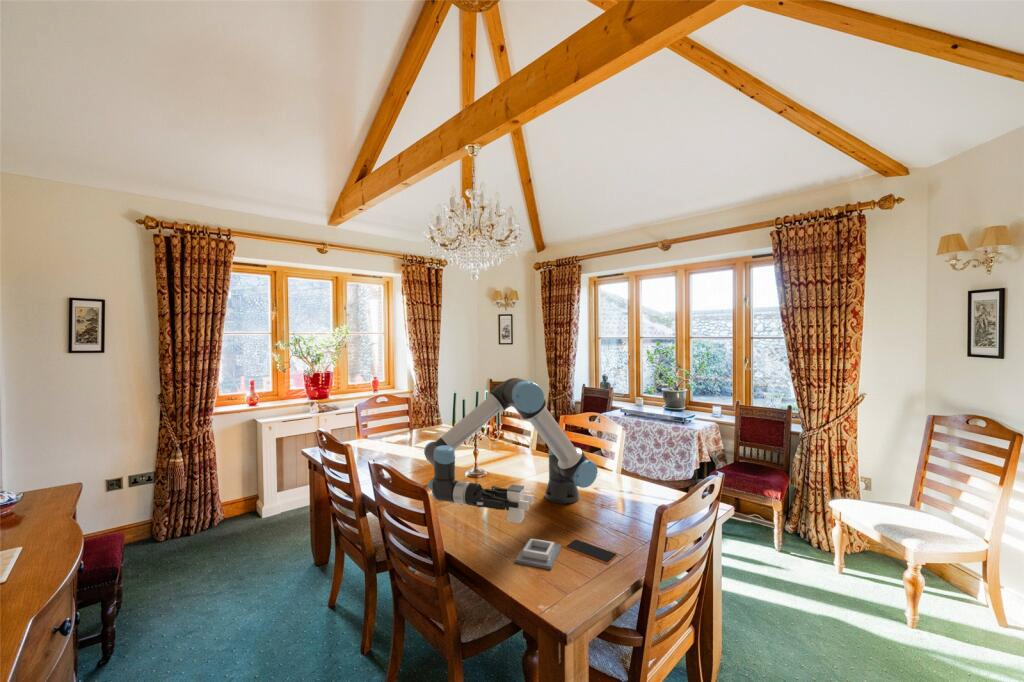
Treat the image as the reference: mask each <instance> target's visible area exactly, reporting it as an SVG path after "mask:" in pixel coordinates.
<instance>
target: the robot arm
mask: <svg viewBox="0 0 1024 682" xmlns="http://www.w3.org/2000/svg"><path fill="white" fill-rule="evenodd" d="M546 406H547V400H546V399H545V394H544V391H543V389H542V388H541V386H540V385H538V384H537V383H536V382H534V381H532V380H527V379H521V378H516V377H512V378H511V377H510V378H508V379H505V380H504V381H503V382H501V383H500V384H498V385H497V386H496V387H495V388H494V389H492V390H491V391H490V392H489V393H488V394H487V397H486V399H484V400H483V401H482V402H481V403H480V404H477V406H476V407H475V408H473V409H472V410H471V411H470V412H469V413H468V414H466V415H465V416H464V417H463V418H462V419H461V420H459V421H458V422H457V423H456V424H455V425H453V427H451V428H450V429H448V431H447V432H445V433H444V434H443V435H442V436H441V437H439V438H438V439H437V440H436V441H435V440H434V441H430V442H428V443H427V444H426V445H425V447H424V448H423V449H424V450H423V453H424V457H425V458H426V460H427V461H428V462H429V463H430V465H431V466H432V468H433V473H434V476H433V477H432V478H431V479H430V480H429V481H428V483H427V488H428V487H429V488H430V489H431V490H432V493H433V497H434V499H433V500H436V501H438V502H445V503H446V502H447V503H454V504H459V505H461V506H463V505H467V506H473V507H477V508H486V509H487V508H488V509H494V510H501V511H505V510H506V511H507V510H509V507H510V508H516V509H522V510H524V511H529V509H530V506H529V505H533V504H534V503H535V500H534V498H535V497H534V494H533V495H532V494H527V493H526V494H525V493H524V501H523V500H516V499H510V501H509V500H507V489H508V488H504V487H503V488H502V487H498V486H495V485H494V486H491V489H490V488H483V486H482V485H481V483H478V482H477V483H475V482H469V481H461V480H456V453H455V450H457V449H458V448H459V447H460V446H461V445H463V443H465V442H466V441H467V440H468V439H469V438H470V437H472V436H473V435H474V434H475V433H476V432H477V431H478V430H479V429H481V428H482V427H484V425H486V424H487V423H488V422H489V421H490V420H492V418H494V417H495V416H496V415H497V414H499V413H500V412H501V413H502V412H504V411H506V410H507V409H509V408H511V407H512V408H514V409H515V411H516V412H517V413H518V414H519V417H521V418H522V420H526V421H529V422H530V424H531V425H532V427H533V428H534V429H535V430H536V432H537V433H538V435H539V436H540V437H541V438H542V440H543V442H544V443H545V444H546V445H547V447H548V483H547V485H546V488H545V492H544V494H545V495H544V496H545V499H546V500H547V501H548V502H551V503H554V504H562V505H566V504H567V503H569V504H572V503H575V502H577V501H579V499H580V492H579V488H582V489H585V488H588V487H590V486H592V484H594V483H595V481H596V479H597V478H598V477H597V476H598V467H597V464H596V463H595V462H594V461H593V460H592V459H589V458H588V457H587V455H585V453H584V452H583V450H582V449H581V447H578V446H577V447H576V446H574V444H573V443H572V441H571V440H570V439H569V437H568V436H567V435H566V433H565V431H564V430H563V429H562V428H561V426H560V425H559V423H558V422H557V421H556V419H555V418H554V417H553V414H551V413H550V411H549V410H548V408H547V407H546Z"/></svg>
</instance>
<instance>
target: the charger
mask: <svg viewBox="0 0 1024 682" xmlns="http://www.w3.org/2000/svg"><path fill="white" fill-rule="evenodd" d="M506 489H507V500H509V501H510V499H516V500H523V501H524V494H525V486H524V485H518V484H511V485H509V487H508V488H506ZM506 511H507V516H506V517H507V522H508V523H509V522H510V523H516V524H521V523H522V522H523V520H524V519H525V510H522V509H516V508H510V507H509V510H506Z"/></svg>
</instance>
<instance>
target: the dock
mask: <svg viewBox="0 0 1024 682" xmlns="http://www.w3.org/2000/svg"><path fill="white" fill-rule="evenodd" d="M561 549H562V544H557V543H555V541H549V540H543V539H537V538H532V537H531V538H530V539H527V541H526V543H525V544H524V545H523V547H522V548H521V550H520V552H519V554H518V555H517V556H516V558H515V560H514V561H515V564H520V565H526V566H531V567H536V568H541V569H547V570H552V568H553V566H554V564H555V562H556V560H557V558H558V555H559V553H560V551H561Z"/></svg>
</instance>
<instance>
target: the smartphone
mask: <svg viewBox="0 0 1024 682" xmlns="http://www.w3.org/2000/svg"><path fill="white" fill-rule="evenodd" d="M564 549H566V550H569V551H571V552H574V553H577V554H579V555H582V556H583V557H586V558H589V559H592V560H594V561H597V562H598V563H602V564H605V565H610V564H611V563H612V562H613V561H614V560H615V559H616V558H617V557H618V555H619V554H618V553H616V552H613V551H611V550H607V549H605V548H602V547H599V546H597V545H594V544H590V543H587V542H585V541H582V540H579V539H577V538H576V539H575V538H574V539H573V540H572V541H570V542H569V543H568V544H566V545H565V546H564Z"/></svg>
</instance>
